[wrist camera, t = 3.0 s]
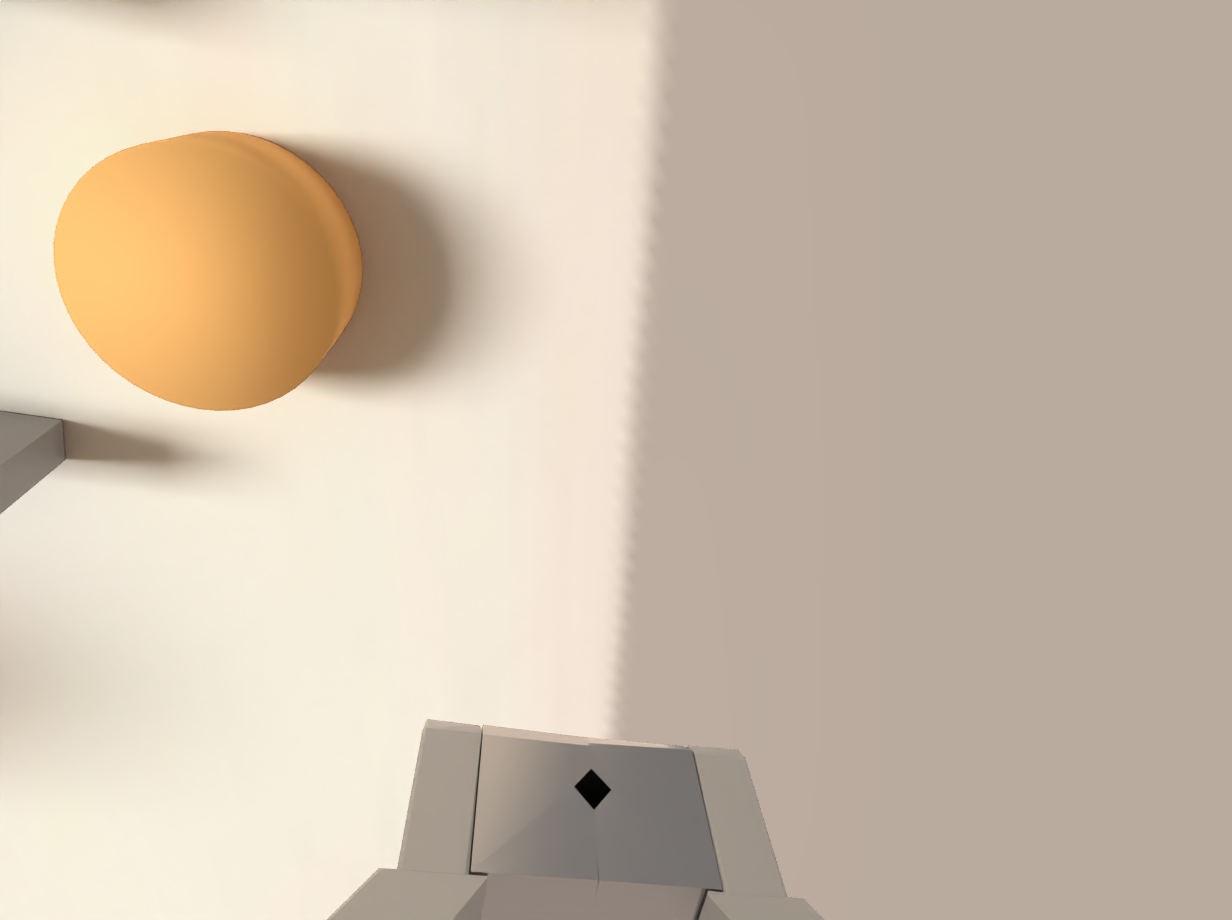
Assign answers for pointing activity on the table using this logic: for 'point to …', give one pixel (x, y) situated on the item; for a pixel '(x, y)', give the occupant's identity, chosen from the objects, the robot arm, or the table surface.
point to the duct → (27, 453)
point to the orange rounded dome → (208, 268)
